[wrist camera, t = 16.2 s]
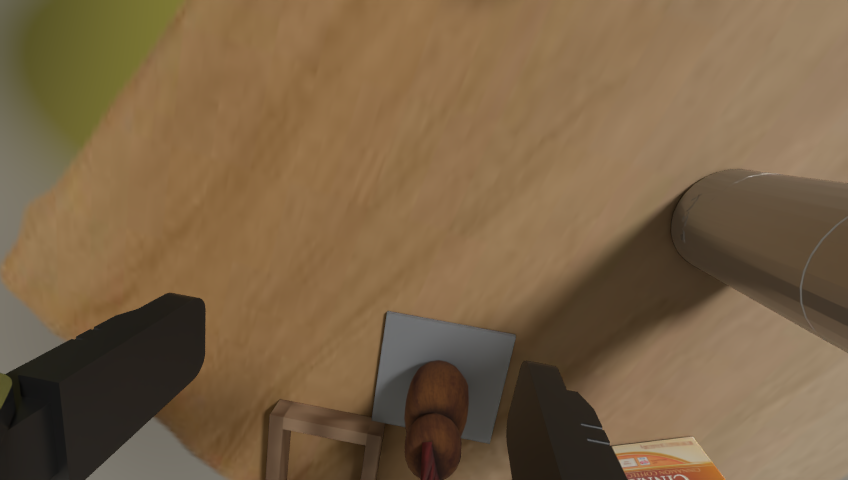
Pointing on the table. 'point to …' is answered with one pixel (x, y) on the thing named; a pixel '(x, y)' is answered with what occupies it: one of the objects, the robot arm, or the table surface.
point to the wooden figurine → (435, 420)
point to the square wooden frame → (320, 434)
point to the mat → (454, 343)
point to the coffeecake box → (666, 460)
